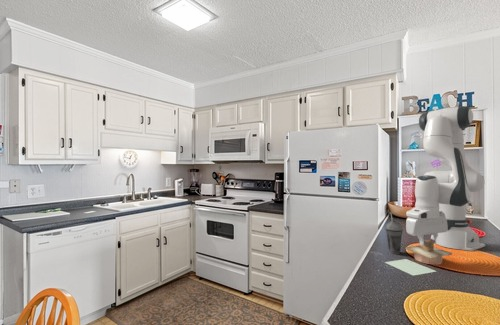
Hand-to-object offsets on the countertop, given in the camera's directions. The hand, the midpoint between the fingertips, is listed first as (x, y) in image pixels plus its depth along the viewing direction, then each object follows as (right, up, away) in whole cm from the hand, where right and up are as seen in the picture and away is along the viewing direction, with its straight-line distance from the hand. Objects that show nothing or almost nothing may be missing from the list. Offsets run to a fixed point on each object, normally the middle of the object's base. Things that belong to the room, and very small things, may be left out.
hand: (427, 243), depth 113 cm
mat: (-13, -8, -7) cm, 16 cm away
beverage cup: (-9, -8, +10) cm, 16 cm away
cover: (0, -4, 0) cm, 4 cm away
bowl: (0, -8, 0) cm, 8 cm away
